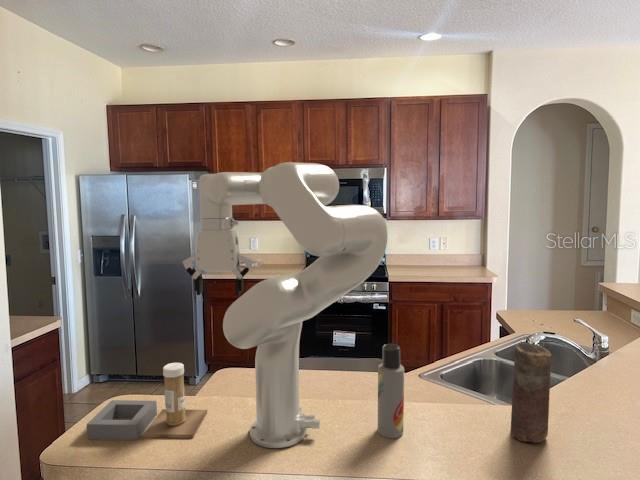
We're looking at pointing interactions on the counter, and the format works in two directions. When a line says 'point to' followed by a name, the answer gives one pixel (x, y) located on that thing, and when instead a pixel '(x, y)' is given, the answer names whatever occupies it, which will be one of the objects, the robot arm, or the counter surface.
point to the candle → (530, 393)
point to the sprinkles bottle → (174, 393)
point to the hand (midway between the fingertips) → (219, 293)
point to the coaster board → (178, 431)
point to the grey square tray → (113, 429)
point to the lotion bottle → (390, 393)
